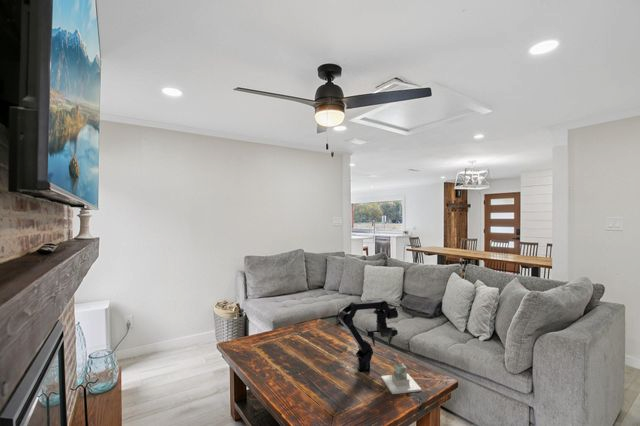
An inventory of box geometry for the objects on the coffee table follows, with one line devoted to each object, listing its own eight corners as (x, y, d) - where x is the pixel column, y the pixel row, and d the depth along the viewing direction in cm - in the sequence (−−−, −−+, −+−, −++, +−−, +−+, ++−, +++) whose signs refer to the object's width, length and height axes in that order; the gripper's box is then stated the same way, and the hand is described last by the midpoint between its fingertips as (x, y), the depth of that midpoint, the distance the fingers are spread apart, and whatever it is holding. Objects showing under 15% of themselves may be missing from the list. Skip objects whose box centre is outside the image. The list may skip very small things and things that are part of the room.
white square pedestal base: (392, 394, 162) (392, 386, 162) (381, 377, 178) (381, 370, 178) (421, 390, 165) (421, 383, 165) (407, 375, 181) (407, 368, 181)
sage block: (397, 379, 168) (397, 368, 168) (394, 374, 173) (394, 363, 173) (406, 378, 169) (406, 367, 169) (402, 373, 174) (402, 363, 174)
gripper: (370, 325, 183) (370, 352, 183) (401, 324, 185) (401, 350, 185) (365, 319, 194) (365, 344, 194) (394, 317, 196) (394, 342, 196)
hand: (381, 345), depth 192 cm, fingers open, 9 cm apart
